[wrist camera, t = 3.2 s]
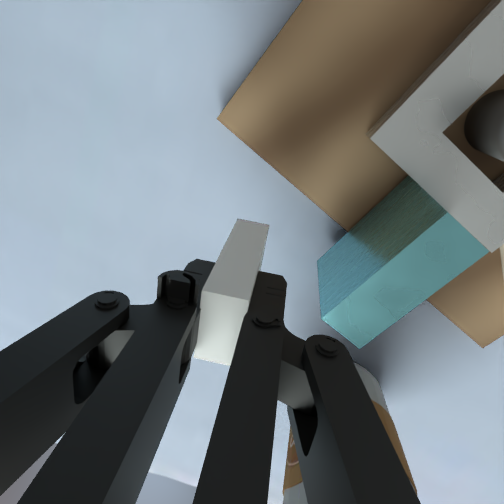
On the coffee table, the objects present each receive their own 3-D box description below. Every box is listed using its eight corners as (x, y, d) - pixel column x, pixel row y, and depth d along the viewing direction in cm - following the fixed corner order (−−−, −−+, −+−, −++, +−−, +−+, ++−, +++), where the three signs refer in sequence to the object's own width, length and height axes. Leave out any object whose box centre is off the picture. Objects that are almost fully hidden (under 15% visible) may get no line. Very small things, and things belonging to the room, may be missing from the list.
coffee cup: (338, 325, 26) (373, 588, 13) (417, 390, 28) (523, 685, 14) (261, 385, 30) (225, 644, 16) (336, 441, 31) (360, 717, 18)
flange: (276, 227, 22) (268, 276, 17) (526, -37, 16) (643, -96, 10) (383, 315, 24) (407, 386, 18) (649, 110, 17) (806, 125, 12)
